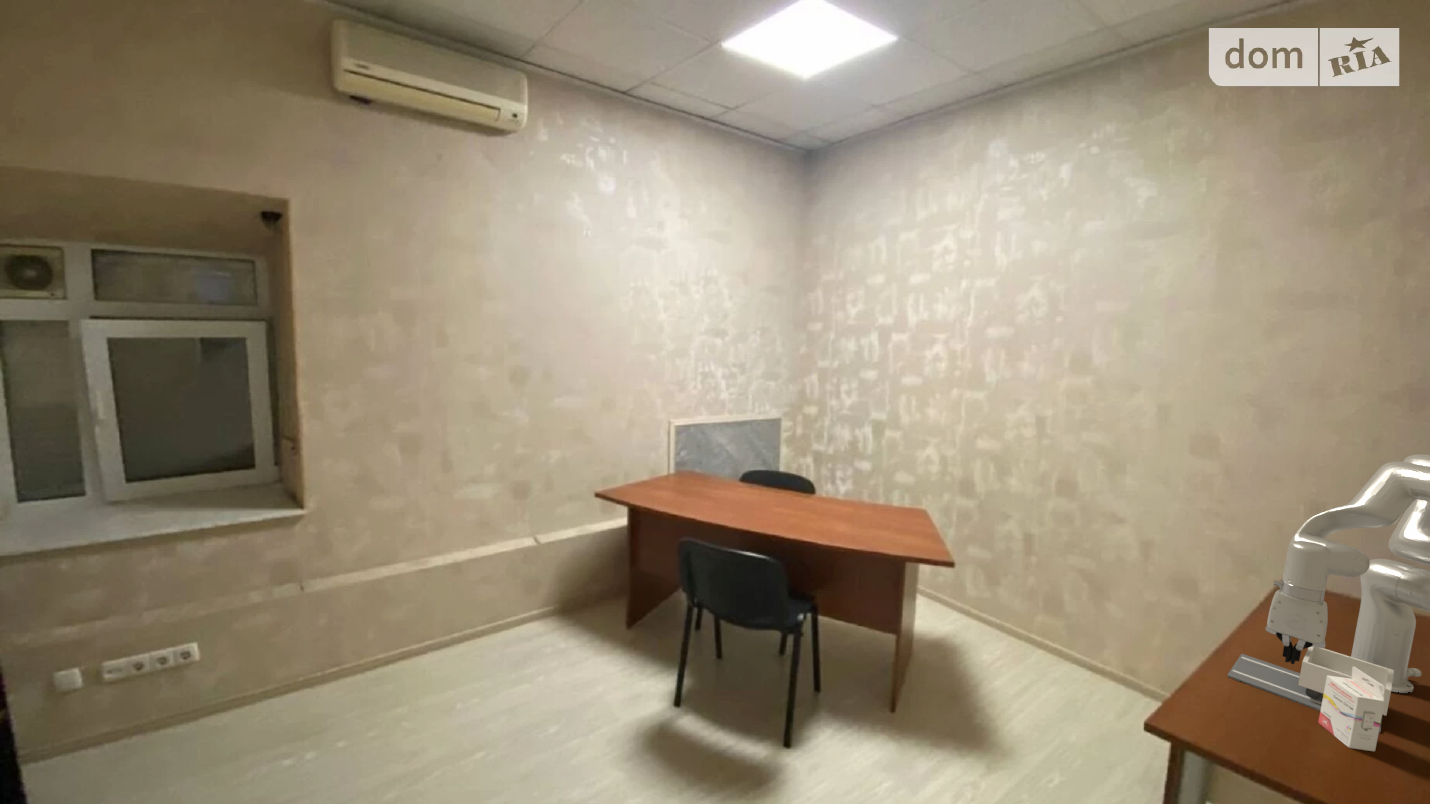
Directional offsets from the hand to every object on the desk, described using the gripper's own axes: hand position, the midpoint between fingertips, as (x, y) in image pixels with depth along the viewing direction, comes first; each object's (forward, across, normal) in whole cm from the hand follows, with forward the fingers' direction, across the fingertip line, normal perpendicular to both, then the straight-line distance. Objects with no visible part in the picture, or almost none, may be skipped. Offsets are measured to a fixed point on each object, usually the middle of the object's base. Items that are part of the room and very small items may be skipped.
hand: (1290, 661), depth 146 cm
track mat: (+6, +3, 0) cm, 7 cm away
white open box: (+5, +9, 0) cm, 11 cm away
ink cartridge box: (+6, +11, -18) cm, 22 cm away
